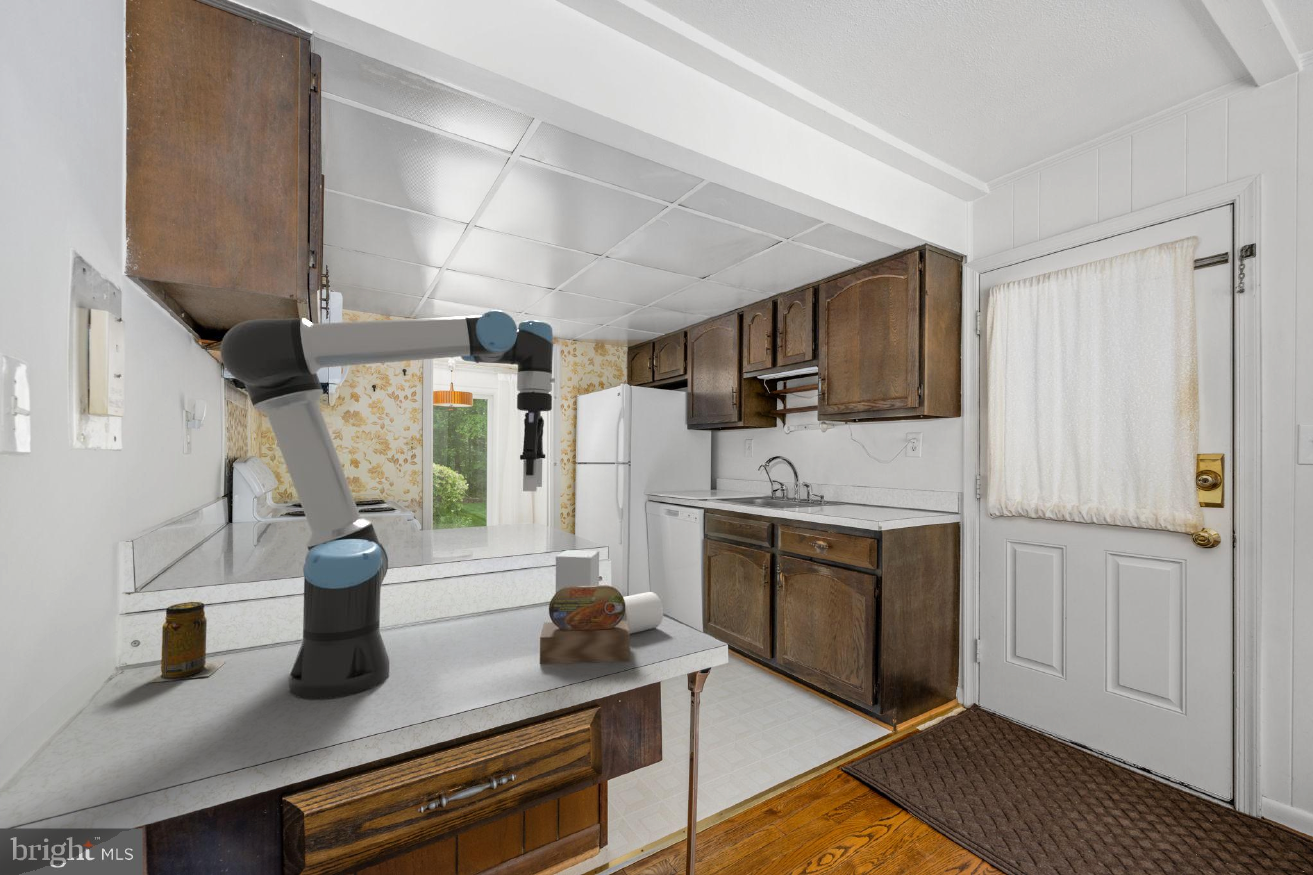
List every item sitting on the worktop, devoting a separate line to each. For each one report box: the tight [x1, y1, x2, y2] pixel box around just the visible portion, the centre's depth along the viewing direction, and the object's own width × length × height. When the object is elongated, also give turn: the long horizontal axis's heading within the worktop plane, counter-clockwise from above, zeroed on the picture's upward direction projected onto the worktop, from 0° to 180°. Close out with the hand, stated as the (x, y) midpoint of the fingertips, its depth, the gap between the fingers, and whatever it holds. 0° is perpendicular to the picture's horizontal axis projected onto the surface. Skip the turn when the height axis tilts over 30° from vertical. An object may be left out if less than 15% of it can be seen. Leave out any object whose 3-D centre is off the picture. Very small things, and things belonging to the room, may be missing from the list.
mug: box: [621, 591, 664, 635], centre depth 127 cm, size 12×10×8 cm
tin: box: [548, 584, 625, 631], centre depth 111 cm, size 15×3×8 cm, turn 97°
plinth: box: [539, 621, 631, 665], centre depth 111 cm, size 17×9×5 cm, turn 97°
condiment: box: [149, 601, 226, 683], centre depth 99 cm, size 7×8×12 cm
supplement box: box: [555, 549, 600, 594], centre depth 137 cm, size 9×9×15 cm
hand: (532, 489), depth 123 cm, fingers open, 13 cm apart
